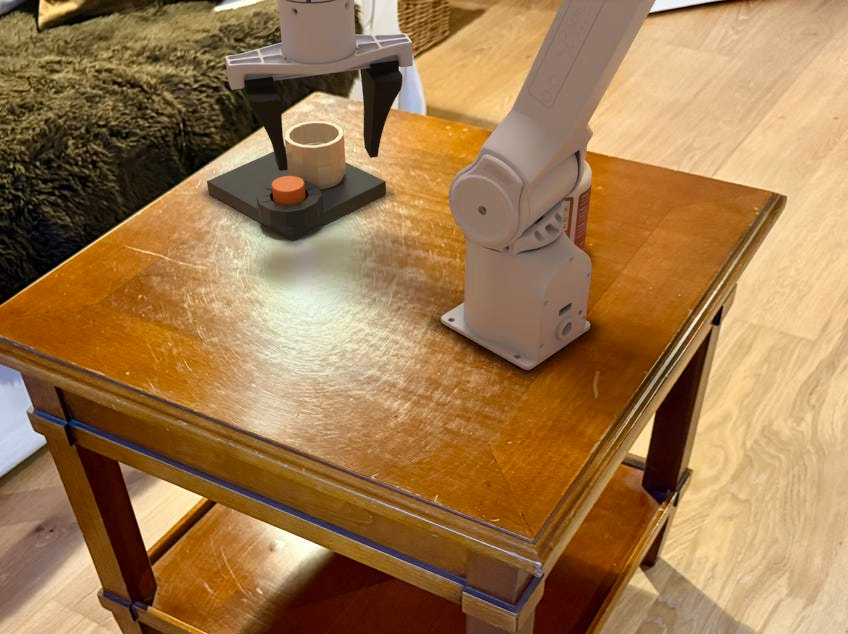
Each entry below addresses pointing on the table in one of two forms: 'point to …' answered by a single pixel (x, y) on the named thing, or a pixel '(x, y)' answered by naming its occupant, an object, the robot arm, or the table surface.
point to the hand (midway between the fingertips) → (326, 158)
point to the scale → (320, 207)
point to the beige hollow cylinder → (316, 153)
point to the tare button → (288, 190)
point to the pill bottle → (578, 209)
